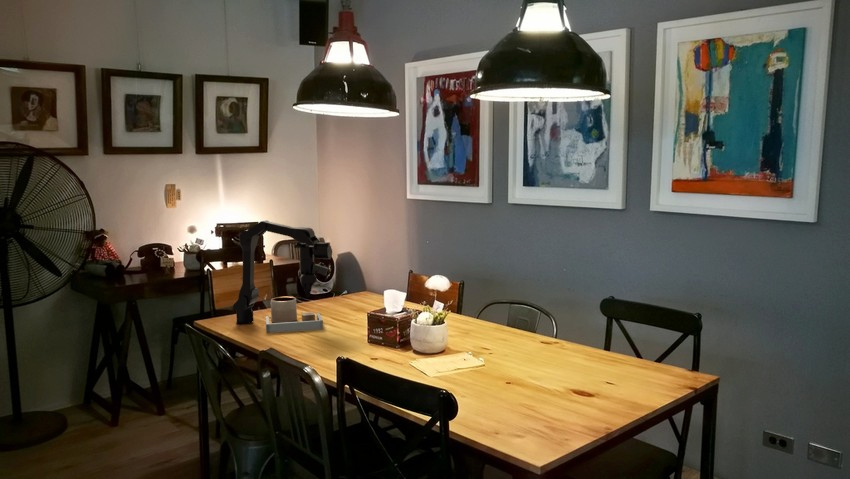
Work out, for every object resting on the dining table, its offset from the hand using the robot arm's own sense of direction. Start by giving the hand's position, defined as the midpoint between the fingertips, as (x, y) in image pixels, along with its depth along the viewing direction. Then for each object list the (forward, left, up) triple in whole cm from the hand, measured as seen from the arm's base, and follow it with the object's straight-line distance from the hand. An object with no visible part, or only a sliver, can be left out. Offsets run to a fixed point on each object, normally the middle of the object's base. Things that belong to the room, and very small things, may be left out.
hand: (307, 295), depth 280 cm
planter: (-10, +11, -13) cm, 19 cm away
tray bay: (-6, -1, -12) cm, 14 cm away
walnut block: (0, 0, -13) cm, 13 cm away
